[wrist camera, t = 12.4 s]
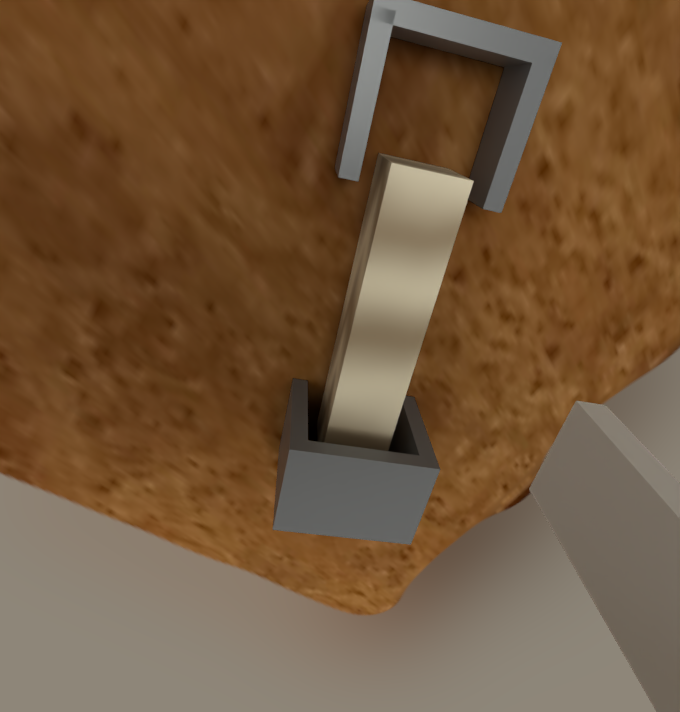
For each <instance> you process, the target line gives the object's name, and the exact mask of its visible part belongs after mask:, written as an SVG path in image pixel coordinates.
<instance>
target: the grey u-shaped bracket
mask: <svg viewBox="0 0 680 712" xmlns="http://www.w3.org/2000/svg"><path fill="white" fill-rule="evenodd" d="M390 37H393V38H397V39H401V40H404V41H408V42H412V43H416V44H419V45H423V46H427V47H430V48H434V49H438V50H442V51H445V52H449V53H453V54H457V55H460V56H464V57H468V58H471V59H475V60H479V61H483V62H486V63H490V64H494V65H498V66H501V67H504V70H503V74H502V77H501V80H500V83H499V86H498V89H497V92H496V96H495V99H494V102H493V105H492V108H491V111H490V115H489V118H488V121H487V124H486V127H485V130H484V133H483V137H482V140H481V143H480V146H479V149H478V152H477V155H476V159H475V162H474V165H473V168H472V171H471V174H470V177H469V179H471V180H473V181H474V182H473V185H472V188H471V191H470V194H469V198H468V200H469V201H471V202H473V203H474V204H476V205H477V206H479V207H481V208H482V209H485V210H490V211H494V212H499V213H501V212H502V210H503V207H504V204H505V201H506V198H507V195H508V193H509V190H510V187H511V184H512V181H513V179H514V176H515V173H516V170H517V167H518V165H519V162H520V159H521V156H522V153H523V151H524V148H525V145H526V142H527V139H528V137H529V134H530V131H531V128H532V125H533V123H534V120H535V117H536V114H537V111H538V109H539V106H540V103H541V100H542V97H543V95H544V92H545V89H546V86H547V83H548V81H549V78H550V75H551V72H552V69H553V67H554V64H555V61H556V58H557V55H558V53H559V50H560V47H561V44H562V43H561V42H557V41H554V40H550V39H547V38H543V37H540V36H536V35H533V34H529V33H525V32H522V31H518V30H515V29H511V28H508V27H504V26H501V25H497V24H494V23H490V22H486V21H483V20H479V19H476V18H472V17H469V16H465V15H462V14H458V13H454V12H451V11H447V10H444V9H440V8H437V7H433V6H430V5H426V4H423V3H419V2H415V1H412V0H370V1H369V2H368V4H367V7H366V12H365V17H364V22H363V27H362V32H361V37H360V42H359V47H358V52H357V57H356V62H355V67H354V72H353V78H352V83H351V88H350V93H349V98H348V103H347V108H346V113H345V118H344V123H343V128H342V133H341V138H340V143H339V148H338V153H337V158H336V164H335V170H336V173H337V175H338V177H340V178H344V179H349V180H353V181H359V176H360V172H361V167H362V163H363V158H364V154H365V149H366V145H367V140H368V136H369V131H370V127H371V122H372V117H373V113H374V108H375V104H376V99H377V95H378V90H379V86H380V81H381V77H382V72H383V68H384V63H385V59H386V54H387V50H388V45H389V41H390Z"/></svg>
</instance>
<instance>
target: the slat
mask: <svg viewBox="0 0 680 712" xmlns="http://www.w3.org/2000/svg"><path fill="white" fill-rule="evenodd" d="M473 182H474V181H473V180H471V179H469V178H466V177H464V176H462V175H460V174H458V173H456V172H454V171H452V170H450V169H448V168H444V167H439V166H435V165H430V164H426V163H421V162H417V161H413V160H408V159H404V158H399V157H395V156H390V155H386V154H381V153H378V157H377V162H376V166H375V170H374V175H373V179H372V183H371V188H370V192H369V197H368V201H367V205H366V210H365V214H364V219H363V223H362V227H361V232H360V236H359V240H358V245H357V249H356V254H355V258H354V262H353V267H352V271H351V275H350V280H349V284H348V289H347V293H346V297H345V302H344V306H343V311H342V315H341V319H340V324H339V328H338V332H337V337H336V341H335V346H334V350H333V354H332V359H331V363H330V368H329V372H328V376H327V381H326V385H325V389H324V394H323V398H322V403H321V407H320V411H319V416H318V420H317V439H318V442H324V443H331V444H338V445H346V446H353V447H360V448H368V449H375V450H383V451H388V450H389V446H390V443H391V440H392V437H393V434H394V431H395V428H396V424H397V421H398V418H399V415H400V412H401V409H402V405H403V402H404V399H405V396H406V393H407V390H408V387H409V383H410V380H411V377H412V374H413V371H414V368H415V365H416V361H417V358H418V355H419V352H420V349H421V346H422V342H423V339H424V336H425V333H426V330H427V327H428V324H429V320H430V317H431V314H432V311H433V308H434V305H435V302H436V298H437V295H438V292H439V289H440V286H441V283H442V280H443V276H444V273H445V270H446V267H447V264H448V261H449V257H450V254H451V251H452V248H453V245H454V242H455V239H456V235H457V232H458V229H459V226H460V223H461V220H462V217H463V213H464V210H465V207H466V204H467V201H468V198H469V194H470V191H471V188H472V185H473Z"/></svg>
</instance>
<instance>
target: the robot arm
mask: <svg viewBox="0 0 680 712" xmlns="http://www.w3.org/2000/svg"><path fill="white" fill-rule="evenodd" d="M529 490H530V492H531V493H532V495H533V497H534V498H535V500H536V502H537V504H538V506H539V507H540V509H541V511H542V513H543V514H544V516H545V518H546V519H547V521H548V523H549V525H550V527H551V528H552V530H553V531H554V533H555V535H556V537H557V539H558V541H559V542H560V544H561V546H562V547H563V549H564V551H565V552H566V554H567V556H568V558H569V560H570V561H571V563H572V565H573V567H574V568H575V570H576V572H577V574H578V575H579V577H580V579H581V581H582V582H583V584H584V586H585V588H586V589H587V591H588V593H589V595H590V596H591V598H592V600H593V602H594V603H595V605H596V607H597V609H598V610H599V612H600V614H601V616H602V617H603V619H604V621H605V623H606V624H607V626H608V628H609V630H610V631H611V633H612V635H613V637H614V638H615V640H616V642H617V644H618V645H619V647H620V649H621V651H622V652H623V654H624V656H625V657H626V659H627V661H628V663H629V665H630V666H631V668H632V670H633V671H634V673H635V675H636V677H637V679H638V680H639V682H640V684H641V686H642V687H643V689H644V691H645V692H646V694H647V696H648V698H649V700H650V701H651V703H652V705H653V706H654V708H655V710H656V712H680V482H679V481H678V480H676V478H675V477H674V476H673V475H672V474H671V473H670V472H669V471H668V470H667V469H666V468H665V467H664V466H663V465H662V464H661V463H660V462H659V461H658V459H657V458H656V457H655V456H654V455H653V454H652V453H651V452H650V451H649V450H648V449H647V448H646V447H645V446H644V445H643V444H642V443H641V442H640V441H639V440H638V439H637V438H636V437H635V435H633V433H632V432H631V431H630V430H629V429H628V428H627V427H626V426H625V425H624V424H623V423H622V422H621V421H620V420H619V419H618V418H617V417H616V416H615V415H614V414H613V413H612V411H611V410H610V409H609V408H608V407H607V406H606V405H601V404H594V403H587V402H581V401H576V402H575V404H574V406H573V408H572V409H571V411H570V413H569V415H568V417H567V419H566V421H565V423H564V424H563V426H562V428H561V430H560V432H559V434H558V436H557V438H556V439H555V441H554V443H553V445H552V447H551V449H550V451H549V453H548V455H547V456H546V458H545V460H544V462H543V464H542V466H541V468H540V470H539V471H538V473H537V475H536V477H535V479H534V481H533V483H532V485H531V486H530V488H529Z"/></svg>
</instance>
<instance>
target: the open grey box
mask: <svg viewBox="0 0 680 712" xmlns="http://www.w3.org/2000/svg"><path fill="white" fill-rule="evenodd" d="M439 471H440V467H439V465H438V462H437V459H436V456H435V453H434V451H433V448H432V445H431V442H430V440H429V437H428V434H427V431H426V429H425V426H424V423H423V420H422V417H421V415H420V412H419V409H418V406H417V404H416V401H415V398H414V397H410V396H405V399H404V402H403V405H402V409H401V412H400V415H399V418H398V421H397V424H396V428H395V431H394V434H393V437H392V440H391V443H390V446H389V450H388V451H383V450H375V449H368V448H360V447H353V446H346V445H338V444H331V443H324V442H316V441H309V440H308V381H307V380H300V379H294V378H293V381H292V386H291V391H290V396H289V401H288V406H287V411H286V416H285V422H284V427H283V432H282V437H281V442H280V447H279V456H278V469H277V482H276V494H275V507H274V520H273V530H280V531H289V532H298V533H308V534H317V535H327V536H336V537H345V538H355V539H364V540H373V541H383V542H392V543H402V544H411V542H412V540H413V537H414V535H415V532H416V530H417V527H418V525H419V522H420V520H421V517H422V514H423V512H424V509H425V507H426V504H427V502H428V499H429V497H430V494H431V492H432V489H433V486H434V484H435V481H436V479H437V476H438V474H439Z"/></svg>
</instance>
